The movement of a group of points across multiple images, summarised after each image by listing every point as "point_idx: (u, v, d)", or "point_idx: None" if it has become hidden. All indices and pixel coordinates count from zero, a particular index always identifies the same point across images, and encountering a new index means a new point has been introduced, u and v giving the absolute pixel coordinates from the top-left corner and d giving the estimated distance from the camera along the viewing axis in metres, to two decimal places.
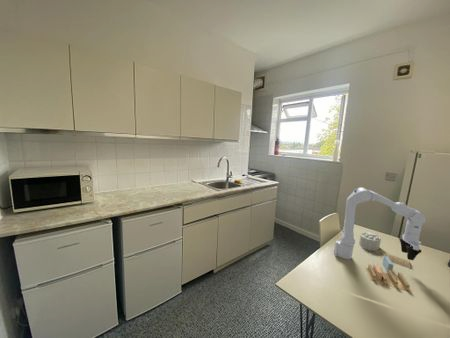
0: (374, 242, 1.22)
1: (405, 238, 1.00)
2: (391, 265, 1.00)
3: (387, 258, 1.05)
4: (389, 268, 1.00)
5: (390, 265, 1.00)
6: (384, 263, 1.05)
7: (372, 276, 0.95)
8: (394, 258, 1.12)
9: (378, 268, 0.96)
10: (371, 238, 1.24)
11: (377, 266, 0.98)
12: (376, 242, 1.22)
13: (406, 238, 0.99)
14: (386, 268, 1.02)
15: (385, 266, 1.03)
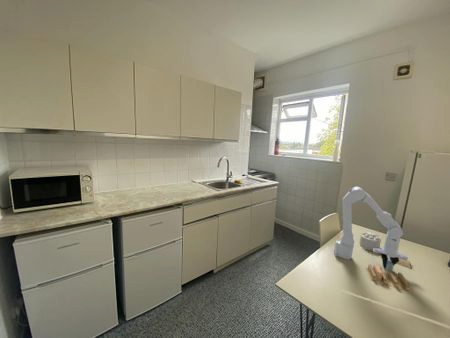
0: (374, 242, 1.22)
1: None
2: (391, 265, 1.00)
3: None
4: (389, 268, 1.00)
5: (390, 265, 1.00)
6: None
7: (372, 276, 0.95)
8: None
9: (378, 268, 0.96)
10: (371, 238, 1.24)
11: (377, 266, 0.98)
12: (376, 242, 1.22)
13: None
14: (386, 268, 1.02)
15: None
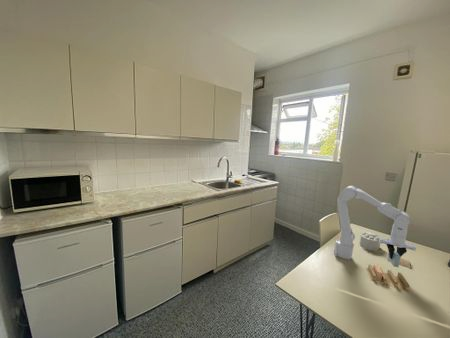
0: (374, 242, 1.22)
1: None
2: (398, 257, 0.95)
3: None
4: (396, 260, 0.95)
5: (397, 257, 0.95)
6: None
7: (372, 276, 0.95)
8: None
9: (378, 268, 0.96)
10: (371, 238, 1.24)
11: (377, 266, 0.98)
12: (376, 242, 1.22)
13: None
14: (393, 260, 0.97)
15: (392, 259, 0.98)
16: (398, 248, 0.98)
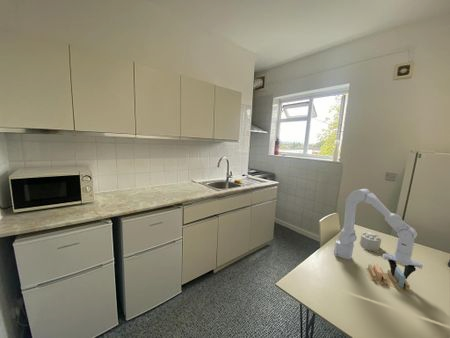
0: (375, 242, 1.22)
1: None
2: (403, 277, 0.89)
3: (398, 269, 0.94)
4: (400, 281, 0.90)
5: (402, 277, 0.89)
6: (394, 274, 0.95)
7: (372, 276, 0.95)
8: None
9: (378, 268, 0.96)
10: (372, 238, 1.23)
11: (377, 266, 0.98)
12: (377, 242, 1.22)
13: None
14: (397, 280, 0.92)
15: (396, 278, 0.93)
16: (406, 266, 0.92)
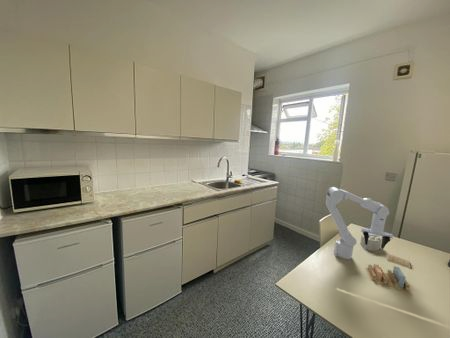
0: (375, 242, 1.22)
1: None
2: (403, 277, 0.89)
3: (398, 269, 0.94)
4: (400, 281, 0.90)
5: (402, 277, 0.89)
6: (394, 274, 0.95)
7: (372, 276, 0.95)
8: (394, 258, 1.12)
9: (378, 268, 0.96)
10: (372, 238, 1.23)
11: (377, 266, 0.98)
12: (377, 242, 1.22)
13: None
14: (397, 280, 0.92)
15: (396, 278, 0.93)
16: (383, 237, 1.07)
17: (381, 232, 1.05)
